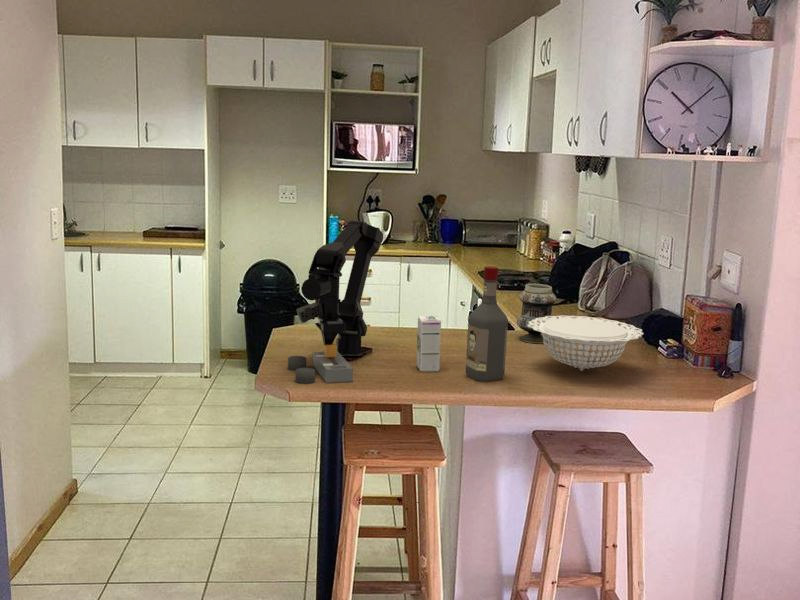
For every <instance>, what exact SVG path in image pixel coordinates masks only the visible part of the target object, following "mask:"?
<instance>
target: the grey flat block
mask: <svg viewBox="0 0 800 600" xmlns="http://www.w3.org/2000/svg"><path fill="white" fill-rule="evenodd" d="M312 365H313V367H314V368H315V370H317V372H318V374H319V375H320V376H321V378H322V379H323V380H324V382H325V383H327V384H331V383H350V382H353V381H354V380H353V379H354V367H352V365H351V364H350V363H349V362H348V361H347V360H346V359H345V357H342V355H341V354H340V353H339V352H338V351H337V357H325V356H324V351H313V352H312Z"/></svg>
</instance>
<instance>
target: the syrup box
mask: <svg viewBox="0 0 800 600" xmlns="http://www.w3.org/2000/svg"><path fill="white" fill-rule="evenodd" d="M416 331H417V334H416V335H417V336H416V337H417V341H416V364H415V366H416V368H417V369H418V370H419V371H420V372H440V366H441V365H440V364H441V340H442V339H441V336H442V332H441V331H442V321H441V319H440V318H439V317H438V316H436V315H421V316H418V317H417V330H416Z"/></svg>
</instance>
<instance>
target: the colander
mask: <svg viewBox="0 0 800 600" xmlns="http://www.w3.org/2000/svg"><path fill="white" fill-rule="evenodd" d="M549 317H551V318H549ZM537 321H538V322H537ZM532 322H533V323H532ZM539 322H540V323H539ZM543 322H544V323H543ZM528 323H529V325H528V327H530V328H533V330H535V331H539V332H541V335H542V336H543V342H544V343H543V344H544V348H545V350H546V351H547V353H548V354H549V356H551V358H553V359H554V360H556V361H558V362H559V363H562V364H565V365H569V366H570V367H573V368H574V369H576V368H578V369H579V371H580V372H581V371H584V369H588V370H589V369H590V368H591V369H594V368H600V367H606V366H609V365H611V364H613V363H615V362H616V361H617V360H619V357H621V356H622V354H623V352H624V351H625V348H626V345H627V343H628V342H630V341H634V340H639V338H642V336H643V335H644V332H643V329H641V328H639V327H636V326H635V325H633V324H628V323H626V322H621V321H618V320H614V319H613V320H612V319H607V318H603V317H591V316H585V315H584V316H583V315H580V316H579V315H578V316H577V315H551V316H545V317H541V318H536V319H535V320H532V321H529V322H528ZM538 325H539V326H538ZM545 341H546V342H545ZM547 341H548V343H547ZM564 348H565V349H564ZM591 350H592V351H591ZM596 351H598V352H596Z"/></svg>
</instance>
